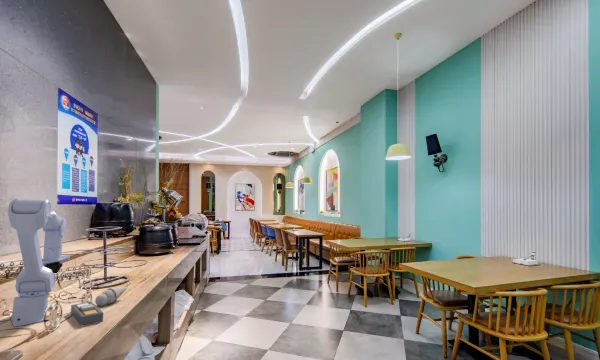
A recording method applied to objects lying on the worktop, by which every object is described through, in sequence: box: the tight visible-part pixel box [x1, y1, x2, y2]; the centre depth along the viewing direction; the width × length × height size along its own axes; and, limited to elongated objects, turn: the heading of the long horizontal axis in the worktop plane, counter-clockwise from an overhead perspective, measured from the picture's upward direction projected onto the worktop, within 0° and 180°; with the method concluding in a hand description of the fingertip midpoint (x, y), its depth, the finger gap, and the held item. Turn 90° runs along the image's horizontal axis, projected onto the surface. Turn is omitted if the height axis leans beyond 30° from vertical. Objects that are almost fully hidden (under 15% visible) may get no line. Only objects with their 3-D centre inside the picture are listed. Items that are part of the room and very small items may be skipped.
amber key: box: [83, 310, 98, 315], centre depth 114 cm, size 4×4×1 cm
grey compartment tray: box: [70, 301, 104, 327], centre depth 118 cm, size 6×16×3 cm, turn 45°
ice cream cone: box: [94, 286, 129, 307], centre depth 135 cm, size 6×6×15 cm
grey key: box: [80, 304, 94, 311], centre depth 118 cm, size 4×4×1 cm
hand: (50, 282), depth 128 cm, fingers closed
